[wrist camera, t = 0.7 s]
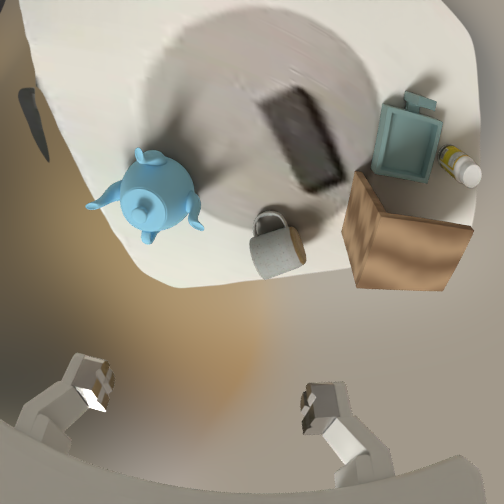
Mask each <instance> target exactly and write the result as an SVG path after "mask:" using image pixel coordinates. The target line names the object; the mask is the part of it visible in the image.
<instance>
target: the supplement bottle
mask: <svg viewBox="0 0 504 504" xmlns="http://www.w3.org/2000/svg"><path fill="white" fill-rule="evenodd" d="M438 161H439V164H440V166H441V167H442V168H443V169H444V170H445V171H447V172H448V173H449V174H450V175H451V176H452V177H453V178H454V179H456V180H457V181H458V182H459V183H462V184H464V185H465V186H467V187H468V188H473V187H476V186H477V185H478V184H479V182H480V180H481V177H482V172H481V169H480V167H479V166H478V165H477V164H476V163H475V162H474V160H473V159H472V158H471V157H469V156H468V155H466V154H465V153H464V152H462V151H461V150H459V149H458V148H456V147H455V146H453V145H445V146H443V147H442V148H441V149H440V151H439V154H438Z"/></svg>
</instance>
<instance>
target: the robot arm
mask: <svg viewBox="0 0 504 504" xmlns="http://www.w3.org/2000/svg"><path fill="white" fill-rule="evenodd" d="M109 366H110V364H109V362H108V361H107V360H103V359H98V358H94V357H90V356H87V355H83V354H79V353H76V354H75V355H74V356H73V358H72V360H71V362H70V364H69V366H68V368H67V370H66V372H65V374H64V376H63V379H62V381H61V382H60V381H58V382H56V383H55V384H53V385H52V386H51V387H49V388H48V389H46V390H45V391H43V392H42V393H40V394H39V395H38V396H36V397H35V398H33V399H32V400H31V401H29V402H27V403H26V404H24V406H23V409H22V411H21V413H20V415H19V418H18V420H17V423H16V425H15V428H14V427H12V426H10V425H8V424H7V423H5V422H4V421H2V420H1V419H0V504H486V497H485V491H484V485H483V479H482V476H481V473H480V470H479V469H478V468H477V467H476V466H475V465H474V464H473V463H471V462H470V461H469V460H467V459H466V458H465V457H463V456H461V455H456V456H453V457H450V458H448V459H445V460H443V461H440V462H437V463H435V464H432V465H429V466H426V467H423V468H420V469H417V470H414V471H411V472H408V473H404V474H401V475H398V476H395V473H394V468H393V463H392V458H391V453H390V449H389V448H388V447H387V446H386V445H385V444H384V443H383V442H382V441H381V440H380V439H379V438H377V437H376V436H375V435H374V433H373V432H371V430H369V428H368V427H366V425H365V424H364V423H363V422H362V421H361V420H360V419H359V418H358V417H357V416H353V415H352V410H351V405H350V400H349V396H348V391H347V387H346V384H345V382H318V383H308V384H307V385H306V391H305V392H303V394H302V396H301V403H300V408H301V413H302V414H303V415H304V416H305V417H304V418H303V420H302V429H303V435H319V434H323V435H322V436H323V437H324V438H325V440H326V441H327V442H328V443H329V445H330V446H331V447H332V449H333V450H334V451H335V453H336V454H337V455H338V457H339V458H340V459H341V460H342V462H343V463H344V464H345V466H343V467H342V468H340V469H339V470H337V471H336V472H335V473H334V477H335V487H336V488H335V489H328V490H320V491H310V492H299V493H298V492H297V493H275V494H252V493H228V492H217V491H216V492H215V491H207V490H198V489H191V488H184V487H178V486H172V485H167V484H162V483H156V482H152V481H147V480H144V479H139V478H135V477H132V476H128V475H124V474H121V473H117V472H114V471H111V470H108V469H104V468H101V467H99V466H96V465H93V464H90V463H88V462H85V461H82V460H80V459H77V458H75V457H72V456H70V455H68V453H69V449H70V446H71V442H72V441H71V438H70V437H68V436H67V435H66V434H65V433H64V431H65V430H66V429H67V428H68V427H69V426H70V425H72V424H73V423H74V422H75V421H76V420H77V419H78V418H79V417H80V416H81V415H82V414H83V413H85V411H87V410H88V409H89V407H91V408H94V409H98V410H102V411H106V409H107V406H108V403H109V400H110V399H109V396H108V394H109V393H110V392H112V391H113V388H114V384H115V376H114V373H113V371H112V370H111V369H109Z"/></svg>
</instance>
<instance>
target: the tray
mask: <svg viewBox="0 0 504 504" xmlns="http://www.w3.org/2000/svg"><path fill="white" fill-rule="evenodd" d="M404 100H406V101H407V102H406V108H405V109H402V108H398V107H394V106H390V105H386V104H382V110H381V116H380V122H379V128H378V133H377V139H376V144H375V149H374V154H373V159H372V164H371V169H372V171H373V172H374V173H375V174H378V175H384V176H390V177H396V178H401V179H406V180H412V181H417V182H421V183H426V184H427V183H428V180H429V176H430V173H431V169H432V166H433V162H434V158H435V154H436V151H437V147H438V142H439V138H440V134H441V129H442V125H443V122H442V121H440V120H438V119H436V118H433V117H430V116H427V115H423V114H420V113H419V109H420V106H421V107H424V108H427V109H430V110H433V111H435V108H436V103H437V102H436V101H434V100H431V99H429V98H426V97H423V96H420V95H417V94H414V93H411V92H407V91H405V96H404Z"/></svg>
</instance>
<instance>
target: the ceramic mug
mask: <svg viewBox="0 0 504 504" xmlns="http://www.w3.org/2000/svg"><path fill="white" fill-rule="evenodd" d="M267 215H270V216H273V215H274V216H278V217H279V218H280V219H281V220H282V222H283V224H284V226H285V227H284V228H281V229H278V230H275V231H272V232H269V233H265V234H262V235H257V231H256V224H257V221H258V219H259V218H260V217H263V216H267ZM253 235H254V237H253V238H251V240H250V253H251V257H252V260H253V263H254V265H255V268H256V270H257V272H258V273H259V275H260V276H261V277H262V278H263V279H269V278H272V277H274V276H277V275H280V274H283V273H285V272H288V271H291V270H294V269H296V268H299V267H300V266H302V265H304V264H305V262H306V254H305V250H304V247H303V244H302V241H301V238H300V236H299V234H298V232H297V230H296V229H295V228H294V227H288V225H287V222H286V220H285V219H284V217H283V216H282V215H281V214H280V213H278V212H276V211H265V212H263V213H261V214H259V215H258V216H257V217H256V218H255V220H254V223H253Z"/></svg>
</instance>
